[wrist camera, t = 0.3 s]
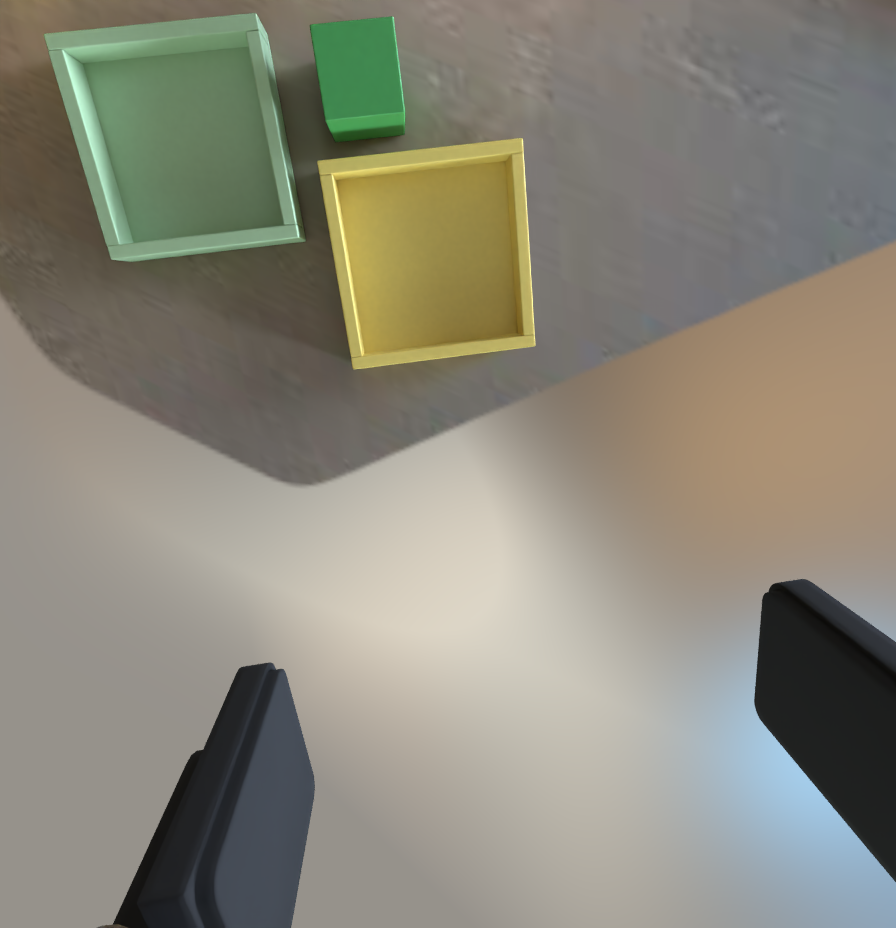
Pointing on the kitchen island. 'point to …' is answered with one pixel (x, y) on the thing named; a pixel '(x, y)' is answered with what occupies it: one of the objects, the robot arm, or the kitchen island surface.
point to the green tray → (180, 135)
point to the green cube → (359, 78)
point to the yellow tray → (431, 251)
